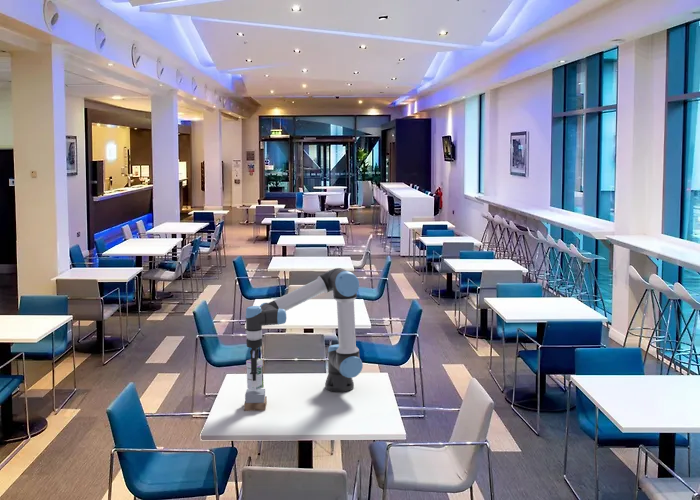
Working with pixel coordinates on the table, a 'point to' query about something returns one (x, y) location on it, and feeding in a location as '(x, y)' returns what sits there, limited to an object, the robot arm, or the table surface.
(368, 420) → the table surface
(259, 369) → the syrup box
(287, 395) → the table surface
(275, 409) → the table surface
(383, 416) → the table surface
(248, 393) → the slate top block
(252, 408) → the walnut base block
